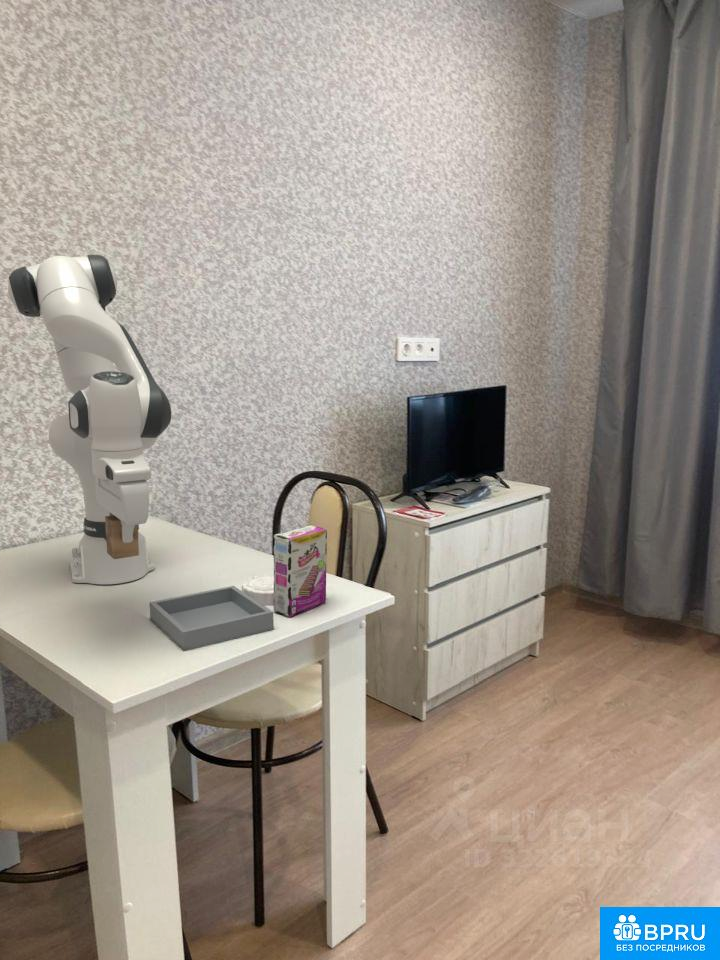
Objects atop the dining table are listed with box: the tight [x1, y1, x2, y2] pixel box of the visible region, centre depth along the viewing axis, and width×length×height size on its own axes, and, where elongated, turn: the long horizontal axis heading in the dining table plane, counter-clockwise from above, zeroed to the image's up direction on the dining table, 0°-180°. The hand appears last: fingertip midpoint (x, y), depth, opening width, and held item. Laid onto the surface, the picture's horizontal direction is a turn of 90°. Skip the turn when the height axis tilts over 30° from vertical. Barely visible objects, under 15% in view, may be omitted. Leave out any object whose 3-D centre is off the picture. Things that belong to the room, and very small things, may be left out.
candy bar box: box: [273, 525, 328, 618], centre depth 152 cm, size 11×5×16 cm, turn 141°
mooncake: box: [241, 573, 274, 607], centre depth 160 cm, size 12×12×4 cm
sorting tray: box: [149, 585, 275, 652], centre depth 144 cm, size 18×18×4 cm
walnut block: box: [105, 515, 139, 559], centre depth 136 cm, size 4×4×7 cm
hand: (121, 537), depth 136 cm, fingers closed on walnut block, 4 cm apart
